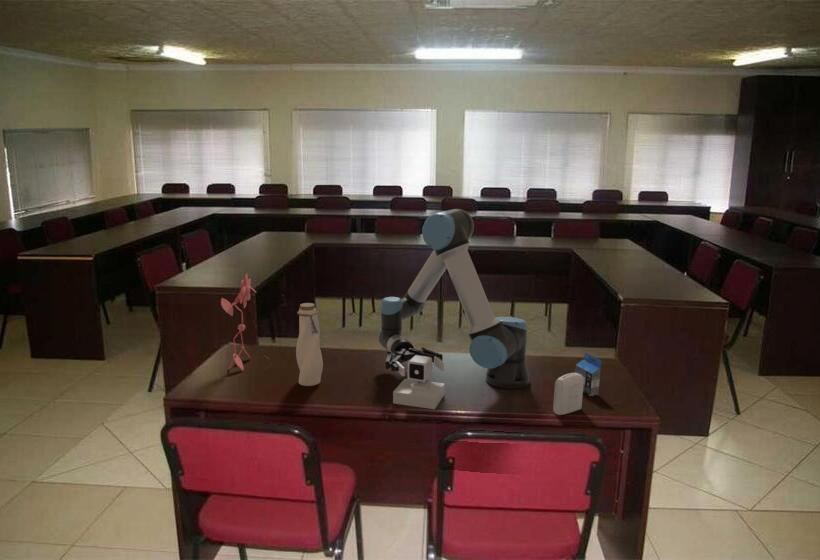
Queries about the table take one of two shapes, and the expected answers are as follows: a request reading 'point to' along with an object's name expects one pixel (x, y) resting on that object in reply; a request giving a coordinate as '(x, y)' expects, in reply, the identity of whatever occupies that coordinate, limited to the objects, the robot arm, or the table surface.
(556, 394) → the photo printer
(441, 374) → the table surface
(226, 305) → the figurine
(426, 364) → the security camera
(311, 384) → the water bottle
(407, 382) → the plinth
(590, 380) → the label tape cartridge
